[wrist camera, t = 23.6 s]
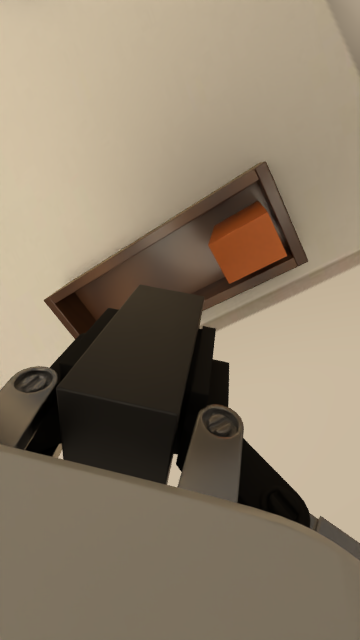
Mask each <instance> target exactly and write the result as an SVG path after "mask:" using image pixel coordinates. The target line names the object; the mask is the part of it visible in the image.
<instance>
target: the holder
mask: <svg viewBox="0 0 360 640" xmlns="http://www.w3.org/2000/svg"><path fill="white" fill-rule="evenodd" d="M256 201H259V202H260V203H261V204H262V206H263V207H264V208H265V209H266V211H267V212H268V213H269V216H270V218H271V220H272V222H273V225H274V227H275V229H276V231H277V233H278V236H279V238H280V240H281V242H282V245H283V247H284V249H285V251H286V254H287V256H286V257H284V258H282V259H280V260H278V261H276V262H274V263H272V264H270V265H268V266H266V267H264V268H261V269H259V270H257V271H255V272H253V273H251V274H249V275H247V276H245V277H243V278H241V279H239V280H237V281H235V282H233V283H230V284H229V283H228V281H227V279H226V277H225V276H224V274H223V272H222V270H221V268H220V266H219V264H218V263H217V261H216V259H215V257H214V255H213V253H212V252H211V250H210V248H209V246H208V244H209V241H210V238H211V235H212V231H213V228H214V226H215V225H216V224H218V223H220V222H222V221H223V220H225V219H227V218H229V217H230V216H232V215H234V214H236V213H237V212H239V211H241V210H242V209H244V208H246V207H248V206H249V205H251V204H253V203H255V202H256ZM306 262H308V259H307V257H306V254H305V252H304V250H303V247H302V245H301V243H300V240H299V238H298V236H297V233H296V231H295V229H294V226H293V224H292V222H291V219H290V217H289V214H288V212H287V210H286V207H285V205H284V203H283V200H282V198H281V196H280V193H279V191H278V189H277V186H276V184H275V182H274V179H273V177H272V174H271V172H270V170H269V167H268V165H267V163H266V162H261V163H259V164H257V165H255V166H254V167H252V168H251V169H249V170H247V171H246V172H244V173H243V174H241V175H239V176H238V177H236V178H235V179H233V180H232V181H230V182H228V183H227V184H225V185H224V186H222V187H220V188H219V189H217V190H216V191H214V192H212V193H211V194H209V195H208V196H206V197H205V198H203V199H201V200H200V201H198V202H197V203H195V204H193V205H192V206H190V207H189V208H187V209H185V210H184V211H182V212H181V213H179V214H177V215H176V216H174V217H173V218H171V219H170V220H168V221H166V222H165V223H163V224H162V225H160V226H158V227H157V228H155V229H154V230H152V231H150V232H149V233H147V234H146V235H144V236H143V237H141V238H139V239H138V240H136V241H135V242H133V243H131V244H130V245H128V246H127V247H125V248H123V249H122V250H120V251H119V252H117V253H115V254H114V255H112V256H111V257H109V258H108V259H106V260H104V261H103V262H101V263H100V264H98V265H96V266H95V267H93V268H92V269H90V270H88V271H87V272H85V273H84V274H82V275H81V276H79V277H77V278H76V279H74V280H73V281H71V282H69V283H68V284H66V285H65V286H63V287H62V288H60V289H59V290H58V291H56V292H55V293H53V294H52V295H50V296H49V297H48V298H46V299H45V300H44V302H45V303H46V304H47V305H48V306H49V308H50V309H51V310H52V311H53V313H54V314H55V315H56V316H57V317H58V319H59V320H60V321H61V322H62V324H63V325H64V326H65V327H66V329H67V330H68V331H69V332H70V333H71V335H72V336H73V337H74V338H75V339H76V338H77V337H78V336H79V335H80V334H82V333H86V332H87V331H88V330H89V329H90V328H91V326H92V325H93V324H94V323H95V322H96V321H97V320H98V319H99V318H100V316H101V315H102V314H103V313H104V312H105V311H106V310H107V309H108V308H113V309H118V310H119V309H120V308H121V307H122V306H123V304H124V303H125V302H126V301H127V299H128V298H129V297H130V296H131V294H132V293H133V292H134V291H135V289H136V288H137V287H138V286H139V285H146V286H151V287H156V288H162V289H167V290H172V291H178V292H183V293H188V294H194V295H199V296H204V297H205V299H204V304H203V309H202V311H203V310H206V309H208V308H210V307H212V306H214V305H216V304H218V303H221V302H223V301H225V300H227V299H229V298H231V297H233V296H236V295H238V294H240V293H242V292H244V291H246V290H249V289H251V288H253V287H255V286H257V285H259V284H261V283H264V282H266V281H268V280H270V279H272V278H274V277H276V276H279V275H281V274H283V273H285V272H287V271H289V270H291V269H294V268H296V267H297V266H300V265H302V264H304V263H306Z"/></svg>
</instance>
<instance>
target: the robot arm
mask: <svg viewBox="0 0 360 640" xmlns="http://www.w3.org/2000/svg"><path fill="white" fill-rule="evenodd" d="M117 312H118V309H113V308H108V309H107V310H106V311H105V312H104V313H103V314H102V315H101V316H100V318H99V319H98V320H97V321H96V322H95V323H94V324H93V325H92V326H91V328H90V329H89V330H88V331H87V332H86V333H82V334H80V335H79V336H78V337H77V338H76V339H75V341H74V342H73V343H72V344H71V345H70V346H69V347H68V348H67V349H66V350H65V351H64V353H63V354H62V355H61V356H60V357H59V358H58V359H57V360H56V361H55V362H54V363H53V364H52V366H51V367H50V368H48V367H40V366H37V367H30V368H27V369H24V370H22V371H20V372H18V373H16V374H15V375H14V376H13V377H12V378H11V379H10V380H9V381H8V382H7V383H6V384H5V386H4V387H3V388H2V389H1V390H0V640H360V543H358V542H357V541H355V540H354V539H353V538H351V537H350V536H349V535H347V534H346V533H344V532H343V531H341V530H340V529H339V528H337V527H336V526H334V525H333V524H331V523H330V522H329V521H327V520H326V519H324V518H323V517H321V516H320V518H319V519H317V518H316V517H314V516H313V515H311V514H310V513H309V510H308V508H307V507H306V504H305V502H304V501H303V500H302V498H301V497H300V496H299V495H298V493H297V492H296V491H295V490H294V489H293V488H292V487H291V486H290V485H289V484H288V483H287V482H286V481H285V480H283V478H282V477H281V476H280V475H279V474H278V473H277V472H276V471H275V470H274V469H273V468H272V467H271V466H270V465H269V464H268V463H267V462H266V461H265V460H264V459H263V458H262V457H261V456H260V455H259V454H258V453H257V452H256V451H255V450H254V449H253V448H252V447H251V446H250V445H249V444H248V443H247V442H246V441H245V439H244V438H243V430H244V427H243V422H242V420H241V418H240V416H239V415H238V414H237V413H236V412H235V411H233V410H232V409H230V408H228V395H229V394H228V393H229V363H227V362H223V361H218V360H213V359H212V358H213V349H214V340H215V331H216V329H215V328H210V327H205V326H203V328H202V329H198V332H197V337H196V341H195V346H194V351H193V355H192V360H191V364H190V369H189V374H188V378H187V383H186V388H185V393H184V398H183V403H182V409H181V414H180V420H179V425H178V430H177V436H176V441H175V447H174V452H173V454H178V457H177V462H176V465H177V466H178V467H179V469H180V470H181V472H182V473H181V476H180V480H179V484H178V487H173V486H169V485H165V484H161V483H157V482H153V481H149V480H145V479H141V478H137V477H133V476H129V475H125V474H121V473H117V472H113V471H108V470H104V469H100V468H96V467H92V466H88V465H84V464H80V463H76V462H71V461H67V460H63V459H58V457H59V455H60V453H61V451H62V441H61V431H60V422H59V412H58V403H57V393H56V388H57V386H58V385H59V384H60V382H61V381H62V380H63V379H64V377H65V376H66V375H67V374H68V372H69V371H70V370H71V369H72V368H73V366H74V365H75V364H76V363H77V361H78V360H79V359H80V358H81V356H82V355H83V354H84V353H85V351H86V350H87V349H88V348H89V346H90V345H91V344H92V343H93V341H94V340H95V339H96V338H97V337H98V335H99V334H100V333H101V332H102V330H103V329H104V328H105V327H106V325H107V324H108V323H109V322H110V320H111V319H112V318H113V317H114V315H115V314H116V313H117Z"/></svg>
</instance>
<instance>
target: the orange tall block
mask: <svg viewBox="0 0 360 640" xmlns="http://www.w3.org/2000/svg"><path fill="white" fill-rule="evenodd" d="M208 246H209V248H210V250H211V252H212V253H213V255H214V257H215V259H216V261H217V263H218V264H219V266H220V268H221V270H222V272H223V274H224V276H225V277H226V279H227V281H228V283H229V284H230V283H233V282H235V281H237V280H239V279H241V278H243V277H245V276H247V275H249V274H251V273H253V272H255V271H257V270H259V269H261V268H264V267H266V266H268V265H270V264H272V263H274V262H276V261H278V260H280V259H282V258H284V257H286V256H287V254H286V251H285V249H284V247H283V245H282V242H281V240H280V238H279V236H278V233H277V231H276V229H275V227H274V225H273V222H272V220H271V218H270V216H269V213H268V212H267V211H266V209H265V208H264V207H263V206H262V204H261V203H260V202H259V201H256V202H255V203H253V204H251V205H249V206H248V207H246V208H244V209H242V210H241V211H239V212H237V213H236V214H234V215H232V216H230V217H229V218H227V219H225V220H223V221H222V222H220V223H218V224H216V225H215V226H214V228H213V231H212V235H211V238H210V241H209V244H208Z"/></svg>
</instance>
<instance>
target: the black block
mask: <svg viewBox="0 0 360 640" xmlns="http://www.w3.org/2000/svg"><path fill="white" fill-rule="evenodd" d="M204 299H205V297H204V296H199V295H194V294H188V293H183V292H178V291H172V290H167V289H162V288H156V287H151V286H146V285H139V286H138V287H137V288H136V289H135V291H134V292H133V293H132V294H131V296H130V297H129V298H128V299H127V301H126V302H125V303H124V304H123V306H122V307H121V308H120V309H119V310H118V312H117V313H116V314H115V315H114V317H113V318H112V319H111V320H110V322H109V323H108V324H107V325H106V327H105V328H104V329H103V330H102V332H101V333H100V334H99V335H98V337H97V338H96V339H95V340H94V341H93V343H92V344H91V345H90V346H89V348H88V349H87V350H86V351H85V353H84V354H83V355H82V356H81V358H80V359H79V360H78V361H77V363H76V364H75V365H74V366H73V368H72V369H71V370H70V371H69V372H68V374H67V375H66V376H65V377H64V379H63V380H62V381H61V382H60V384H59V385H58V386H57V388H56V393H57V403H58V412H59V422H60V431H61V441H62V450H63V460H67V461H71V462H76V463H80V464H84V465H88V466H92V467H96V468H100V469H104V470H108V471H113V472H117V473H121V474H125V475H129V476H133V477H137V478H141V479H145V480H149V481H153V482H157V483H161V484H165V485H167V482H168V478H169V473H170V468H171V463H172V458H173V452H174V447H175V441H176V436H177V430H178V425H179V420H180V414H181V409H182V403H183V398H184V393H185V388H186V383H187V378H188V374H189V369H190V364H191V360H192V355H193V351H194V346H195V341H196V337H197V332H198V329H199V325H200V320H201V315H202V309H203V304H204Z"/></svg>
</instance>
